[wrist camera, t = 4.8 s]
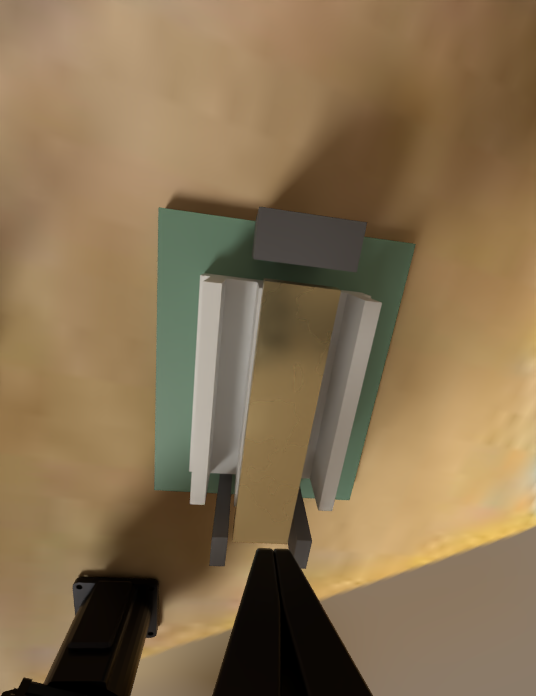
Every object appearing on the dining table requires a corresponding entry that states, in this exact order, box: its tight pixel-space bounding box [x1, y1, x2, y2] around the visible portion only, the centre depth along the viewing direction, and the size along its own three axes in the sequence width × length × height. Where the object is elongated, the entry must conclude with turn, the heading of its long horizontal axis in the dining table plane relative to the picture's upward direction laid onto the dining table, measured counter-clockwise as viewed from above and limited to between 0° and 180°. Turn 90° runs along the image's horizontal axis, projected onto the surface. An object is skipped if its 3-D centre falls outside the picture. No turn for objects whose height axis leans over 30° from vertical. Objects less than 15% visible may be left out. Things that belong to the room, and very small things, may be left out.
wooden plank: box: [233, 278, 341, 544], centre depth 14 cm, size 14×3×1 cm, turn 173°
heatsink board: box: [154, 207, 416, 569], centre depth 17 cm, size 18×14×6 cm
